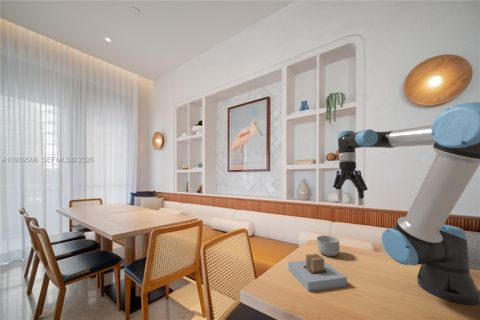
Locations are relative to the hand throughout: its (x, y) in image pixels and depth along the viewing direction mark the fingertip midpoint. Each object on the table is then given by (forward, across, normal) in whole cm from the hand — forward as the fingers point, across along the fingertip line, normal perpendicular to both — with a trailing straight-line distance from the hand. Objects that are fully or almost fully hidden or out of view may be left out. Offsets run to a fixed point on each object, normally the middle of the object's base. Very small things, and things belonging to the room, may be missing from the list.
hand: (349, 203), depth 97 cm
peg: (+27, +12, -28) cm, 41 cm away
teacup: (+27, -8, -8) cm, 29 cm away
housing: (+27, +12, -28) cm, 41 cm away
